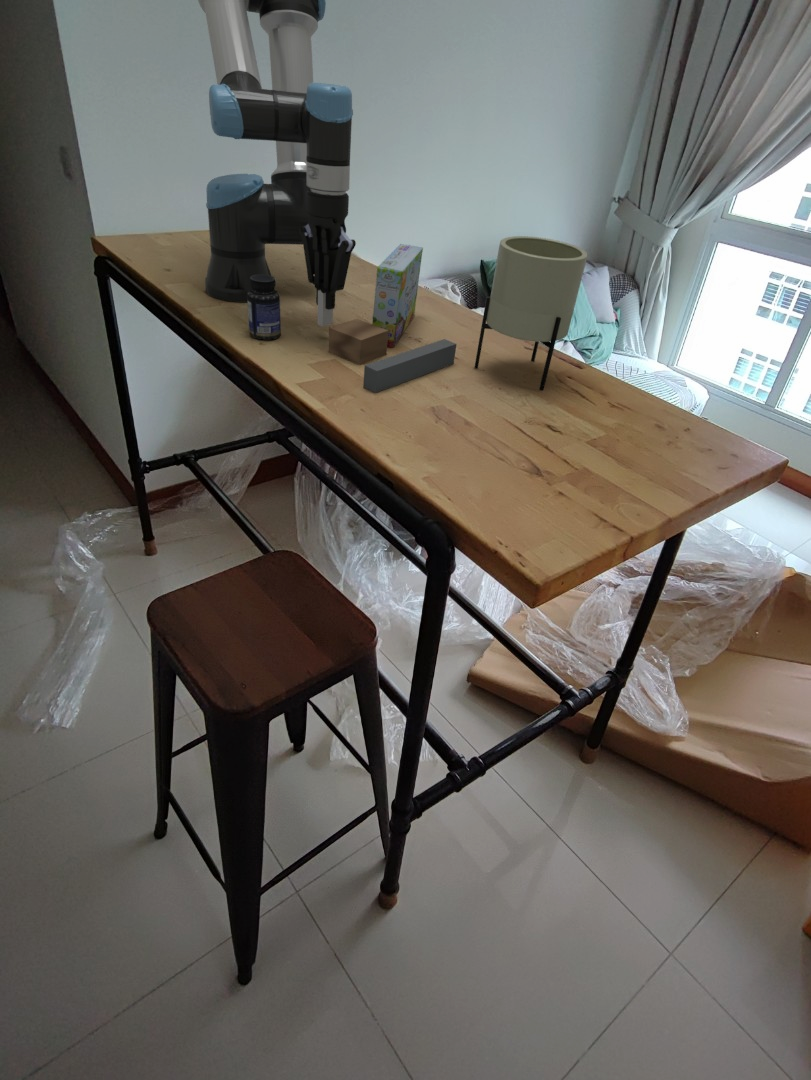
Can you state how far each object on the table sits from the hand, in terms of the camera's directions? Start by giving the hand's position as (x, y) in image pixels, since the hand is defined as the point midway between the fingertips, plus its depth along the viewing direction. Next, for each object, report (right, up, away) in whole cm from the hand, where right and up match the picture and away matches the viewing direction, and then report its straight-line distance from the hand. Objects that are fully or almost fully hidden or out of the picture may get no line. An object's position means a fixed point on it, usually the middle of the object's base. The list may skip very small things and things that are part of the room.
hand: (325, 323), depth 128 cm
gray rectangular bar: (+17, -12, -8) cm, 22 cm away
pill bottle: (-12, -2, 0) cm, 12 cm away
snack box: (+14, +2, +10) cm, 17 cm away
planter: (+38, -11, -3) cm, 39 cm away
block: (+7, -7, -2) cm, 10 cm away
